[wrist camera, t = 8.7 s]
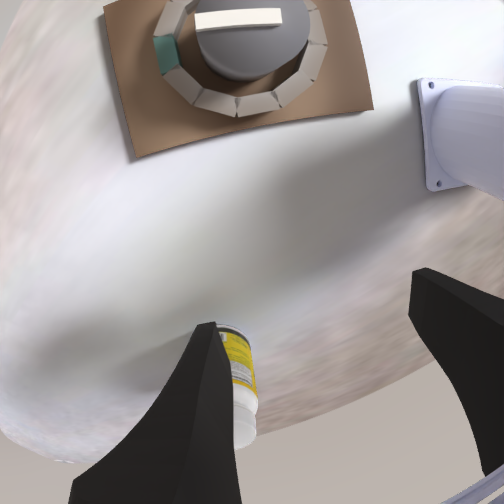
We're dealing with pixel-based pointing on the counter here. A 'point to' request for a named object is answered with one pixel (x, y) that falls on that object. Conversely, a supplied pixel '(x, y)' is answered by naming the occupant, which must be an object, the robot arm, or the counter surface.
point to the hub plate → (218, 89)
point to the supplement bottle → (241, 385)
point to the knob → (250, 35)
